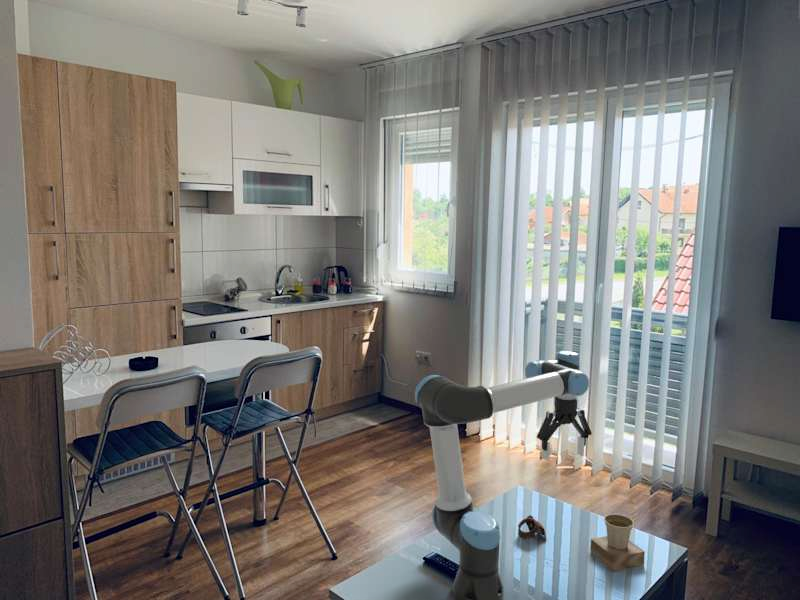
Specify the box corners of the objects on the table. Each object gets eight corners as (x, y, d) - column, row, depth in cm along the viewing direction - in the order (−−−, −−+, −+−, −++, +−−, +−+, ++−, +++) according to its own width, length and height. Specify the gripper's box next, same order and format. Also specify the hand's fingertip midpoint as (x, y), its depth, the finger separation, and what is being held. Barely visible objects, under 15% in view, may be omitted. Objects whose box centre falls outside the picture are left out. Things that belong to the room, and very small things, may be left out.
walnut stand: (613, 571, 191) (613, 557, 191) (590, 552, 203) (591, 538, 202) (643, 565, 195) (644, 551, 195) (619, 547, 206) (620, 533, 206)
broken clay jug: (551, 546, 208) (542, 529, 205) (525, 555, 209) (516, 539, 207) (543, 522, 219) (535, 505, 216) (519, 530, 220) (511, 514, 218)
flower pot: (596, 541, 201) (597, 516, 200) (617, 535, 205) (618, 511, 204) (617, 555, 192) (618, 529, 191) (638, 548, 196) (640, 524, 195)
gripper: (539, 402, 195) (537, 465, 197) (604, 397, 202) (600, 457, 205) (528, 396, 202) (525, 456, 204) (590, 391, 209) (587, 449, 212)
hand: (563, 457), depth 204 cm, fingers open, 13 cm apart
